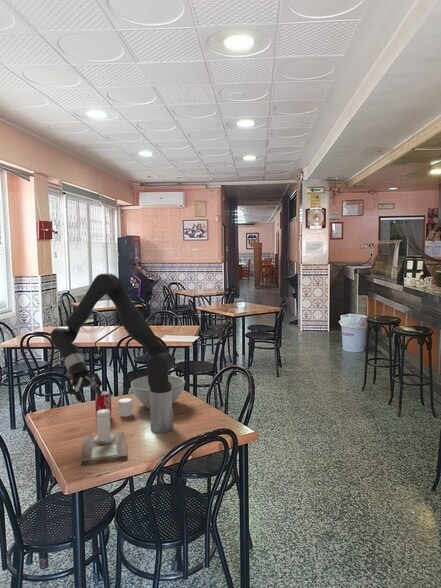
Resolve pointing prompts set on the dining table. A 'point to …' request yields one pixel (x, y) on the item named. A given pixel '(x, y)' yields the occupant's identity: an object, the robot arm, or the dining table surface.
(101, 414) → the salt shaker
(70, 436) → the dining table surface
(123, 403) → the white tapered cup
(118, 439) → the post board
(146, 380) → the decorative bowl
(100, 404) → the soda can
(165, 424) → the robot arm
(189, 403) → the dining table surface
